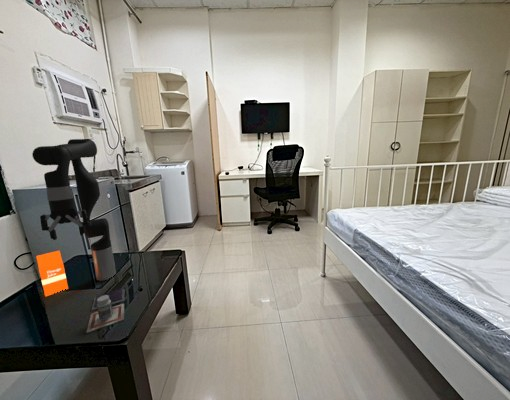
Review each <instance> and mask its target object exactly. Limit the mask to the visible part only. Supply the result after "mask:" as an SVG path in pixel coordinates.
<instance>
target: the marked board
mask: <svg viewBox="0 0 510 400" xmlns="http://www.w3.org/2000/svg"><path fill="white" fill-rule="evenodd" d="M112 310H113V315H112V316H111V317H110V318H109V319H106V320H100V319H99V314H98V311H95V312H92V313H90V315H89V321H88V323H87V328H86V332H85V333H86V334H87V333H91V332H93V331H97V330H100V329H103V328H106V327H108V326H112V325H114V324H117V323H120V322H124V321H125V303H121V304H118V305H114V306H112Z"/></svg>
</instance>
